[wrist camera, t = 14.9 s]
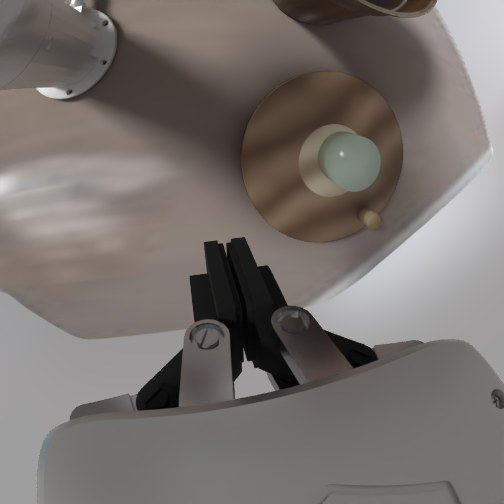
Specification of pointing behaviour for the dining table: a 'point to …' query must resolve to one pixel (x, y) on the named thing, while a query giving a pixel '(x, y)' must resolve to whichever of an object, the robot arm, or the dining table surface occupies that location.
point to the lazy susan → (306, 156)
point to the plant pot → (351, 9)
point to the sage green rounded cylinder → (349, 160)
